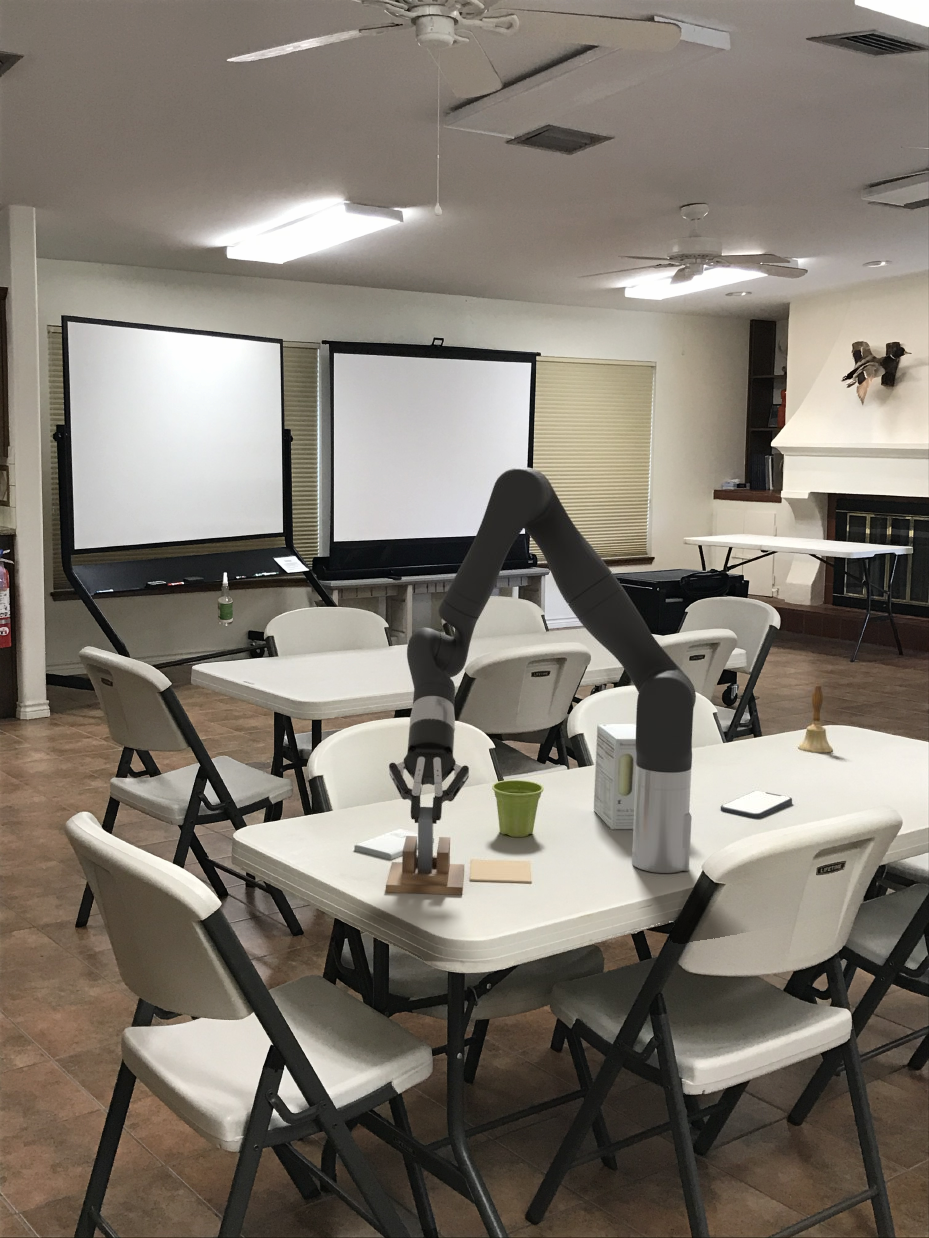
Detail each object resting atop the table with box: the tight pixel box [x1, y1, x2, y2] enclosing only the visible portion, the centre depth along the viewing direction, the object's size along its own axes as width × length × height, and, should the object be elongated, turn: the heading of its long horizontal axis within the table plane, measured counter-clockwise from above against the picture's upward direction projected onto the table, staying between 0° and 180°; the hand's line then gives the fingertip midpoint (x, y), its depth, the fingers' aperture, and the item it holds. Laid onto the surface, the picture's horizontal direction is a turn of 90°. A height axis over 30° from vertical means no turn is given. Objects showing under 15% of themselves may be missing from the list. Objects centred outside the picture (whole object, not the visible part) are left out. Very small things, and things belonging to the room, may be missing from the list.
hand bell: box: [797, 684, 834, 754], centre depth 293 cm, size 8×8×16 cm
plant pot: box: [491, 779, 544, 838], centre depth 218 cm, size 9×9×9 cm
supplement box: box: [593, 723, 636, 831], centre depth 228 cm, size 13×13×18 cm
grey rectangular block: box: [417, 806, 434, 874], centre depth 190 cm, size 2×4×10 cm, turn 178°
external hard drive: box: [354, 828, 435, 861], centre depth 209 cm, size 2×8×12 cm
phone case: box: [720, 790, 793, 820], centre depth 240 cm, size 9×2×16 cm
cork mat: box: [469, 858, 533, 884], centre depth 197 cm, size 10×10×1 cm
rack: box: [385, 836, 465, 896], centre depth 191 cm, size 12×11×6 cm
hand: (425, 820), depth 187 cm, fingers closed on grey rectangular block, 2 cm apart
